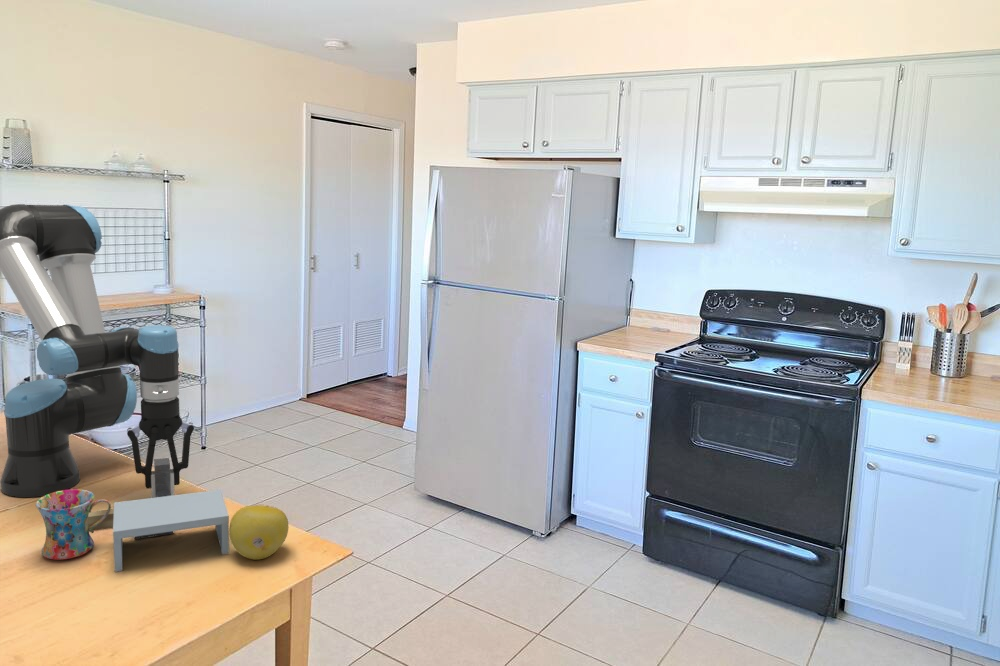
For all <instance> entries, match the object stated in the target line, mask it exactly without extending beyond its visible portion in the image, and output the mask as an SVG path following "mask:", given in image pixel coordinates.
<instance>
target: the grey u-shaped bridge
mask: <svg viewBox="0 0 1000 666" xmlns="http://www.w3.org/2000/svg"><path fill="white" fill-rule="evenodd" d="M113 509H114V519H113V528H112V537H113V539H112V540H113V556H114V557H113V559H114V562H113V563H114V572H115V573H117V572H122V571H123V552H124V551H123V544H124V543H123V542H124V541H123V539H127V538H133V537H134V538H135V537H136V536H143V535H150V534H157V533H164V532H171V531H173V532H177V531H182V530H183V531H184V530H190V529H197V528H204V527H206V528H207V527H212V526H215V531H216V535H217V538H218V542H219V546H220V550H221V554H222V555H228V554H230V541H229V540H230V535H229V527H230V515H229V512H228V508H227V505H226V502H225V499H224V494H223V492H222V489H214V490H207V491H206V490H205V491H199V492H198V491H197V492H190V493H182V494H174V495H172V496H164V497H156V498H152V497H148V498H140V499H132V500H126V501H125V500H123V501H117V502H113Z"/></svg>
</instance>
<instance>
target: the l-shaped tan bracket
mask: <svg viewBox="0 0 1000 666" xmlns="http://www.w3.org/2000/svg"><path fill="white" fill-rule="evenodd" d="M107 510H108V509H104V510H95V511H94V510H93V511H91V512H90V513H89V514H88V530H89V527H90V526H92V525H93V524H95V523H96V522H98V521H99V520H100V519H101V518H102V517H103V516H104V515H105V513H106V512H107ZM113 519H114V508H111V509H110V511H109V513H108V515H107V516H106V518H105V519H104V520H103V521H102V522H101V523H100V524H98V525H97V526H95V527H94V528H92V529H91V530H93V531H97V530H107V529H111V528H112V529H113Z"/></svg>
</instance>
